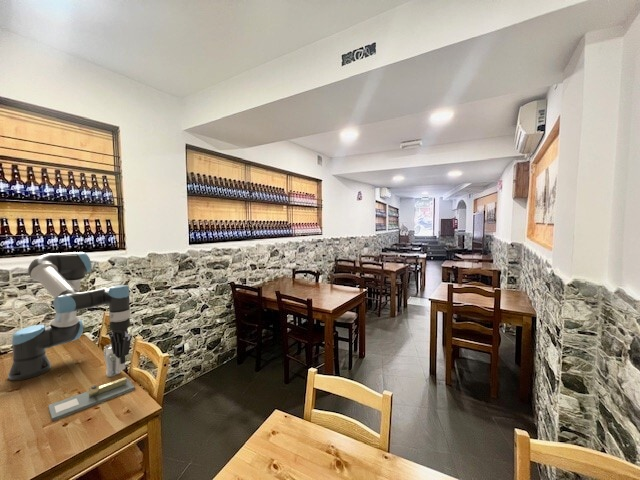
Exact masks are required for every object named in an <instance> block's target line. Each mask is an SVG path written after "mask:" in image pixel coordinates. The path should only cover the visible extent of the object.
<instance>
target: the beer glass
mask: <svg viewBox="0 0 640 480" xmlns="http://www.w3.org/2000/svg"><path fill="white" fill-rule="evenodd" d="M103 355H104V362H105V365H106V373H105V376H106V377H108V378H111V377H115V376H117V375H118V376H119V375H120V374H121V372H122V370H121V371H117V356H115V354H113V351H112V346H111V343H109V344H106V345H105V347H104V354H103Z"/></svg>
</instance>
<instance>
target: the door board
mask: <svg viewBox="0 0 640 480" xmlns="http://www.w3.org/2000/svg"><path fill="white" fill-rule="evenodd" d="M125 378H126V379H127V384H125V385H122V386H119V387H116V388H114V389H111V390H108V391H105V392H103V393H100V394H98V395H96V396H94V397H89V390H88V391H85V392H82V393H80V394H77V395H76V394H75V395H74V396H71V397H68V398H65V399H62V400H59V401H57V402H53V403H51V404H48V411H49V415H50V418H51V421H52V422H54V421H57V420H59V419H61V418H64V417H68V416H70V415H72V414H74V413H77V412H81V411H83V410H86V409H88V408H90V407H94V406H96V405H98V404H101V403H103V402H106V401H108V400H112V399H114V398H116V397H119V396H121V395H124V394H126V393H129V392H131V391H135V389H136V387H135V385H134V384H133V383H132V381H131V380H130V379H129V378H128V377H125Z"/></svg>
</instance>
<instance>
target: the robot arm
mask: <svg viewBox="0 0 640 480" xmlns="http://www.w3.org/2000/svg"><path fill="white" fill-rule="evenodd" d="M27 268H28V269H27V272H28V275H29V277H30V278H31V280H33V281H35V282H38V283H39V284H41V285H42V286H43V288H44V289H45V290H46V291H47V292H48V293H49V294H50V295H51V297H53V298H54V300H53V309H54V312H55V317H54V318H53V319H52V320H51V321H50V325H47V326H46V325H44V324H36V325H31V326H30V325H29V326H27V327H25V328H22V329H19V330H17V331H16V332H14V333H13V335H12V340H11V344H12V345H11V346H12V364H11V366H10V370H9V371H8V375H7V376H8V380H10V381H23V380H27V379H31V378H35V377H38V376H40V375H44V374H45V373H46V372H49V370H51V367H52V363H51V361H50V359H49V357H48V355H47V353H46V352H47V351H46V350H47V349H50V348H54V347H56V346H61V345H64V344H67V343H68V344H69V343H71V342H74V341H76V340H79V339H80V338H81V336H82V335H83V331H84V327H83V326H84V324H83V321H82V320H81V319H80V318H79V317H78V316H77V315H78V314H77V313H78V311H81V310H86V309H92V308H96V307H100V306H104V305H107V306H108V309H109V311H108V312H109V315H108V317H109V330H111V331H112V332H110V333H108V337H109V338H110V344H111V346H112V351H113V354H115V356H117V371H121V372H122V371H124V370H126V356H129V353H130V347H131V342H132V341H131V340H132V339H133V335H129V330H128V328H130V326H131V319H130V317H131V312H130V311H131V309H130V294H131V293H130V289H129V288H130V286H128V285H127V284H118V285H117V284H116V285H113V286H110V287H108V286H107V287H106V286H103V287H101V286H100V287H99V288H97V289H95V290H87V291H86V290H85V291H81V290H80V289H81V281H82V280H83V279H85V276H86V273H87V274H88V273H90V272H91V271H92V262H91V258H90V257H89V255H88V254H87V253H86V252H83V251H79V252H78V251H77V252H76V251H73V252H61V253H60V252H58V253H57V252H56V253H46V254H42V255H40V256H38V257H36V258H34V259H33V260H32V261H31V262H30V264H29V266H28V267H27ZM80 291H81V292H80Z"/></svg>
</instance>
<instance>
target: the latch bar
mask: <svg viewBox="0 0 640 480" xmlns="http://www.w3.org/2000/svg"><path fill="white" fill-rule="evenodd" d="M126 378H127V377H122V378H119V379H116V380H112V381H110V382H108V383H104V384H102V385H92V386H91V387H89V388H88V391H89V397H94V396H96V395H98V394H100V393H103V392H105V391H108V390H111V389H114V388H116V387H119V386H122V385H125V384H127V379H126Z"/></svg>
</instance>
